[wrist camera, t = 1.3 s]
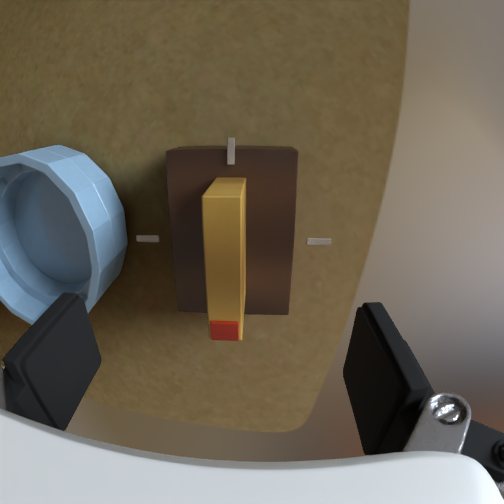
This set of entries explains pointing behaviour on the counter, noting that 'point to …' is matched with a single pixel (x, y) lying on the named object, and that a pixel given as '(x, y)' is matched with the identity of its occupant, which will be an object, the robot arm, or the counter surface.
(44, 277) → the basin
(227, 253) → the yellow block red tip
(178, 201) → the base
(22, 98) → the counter surface
